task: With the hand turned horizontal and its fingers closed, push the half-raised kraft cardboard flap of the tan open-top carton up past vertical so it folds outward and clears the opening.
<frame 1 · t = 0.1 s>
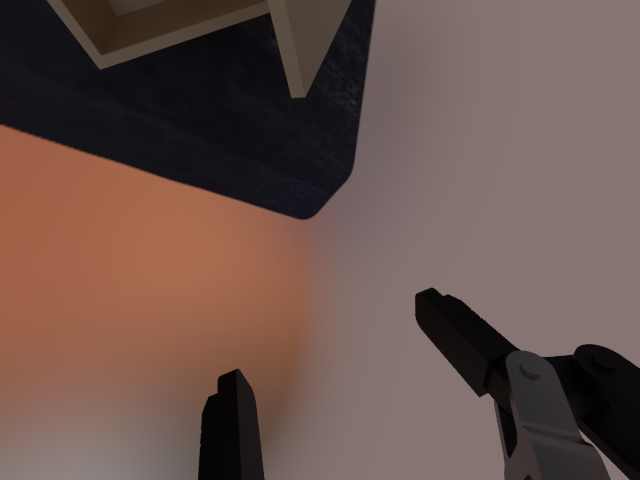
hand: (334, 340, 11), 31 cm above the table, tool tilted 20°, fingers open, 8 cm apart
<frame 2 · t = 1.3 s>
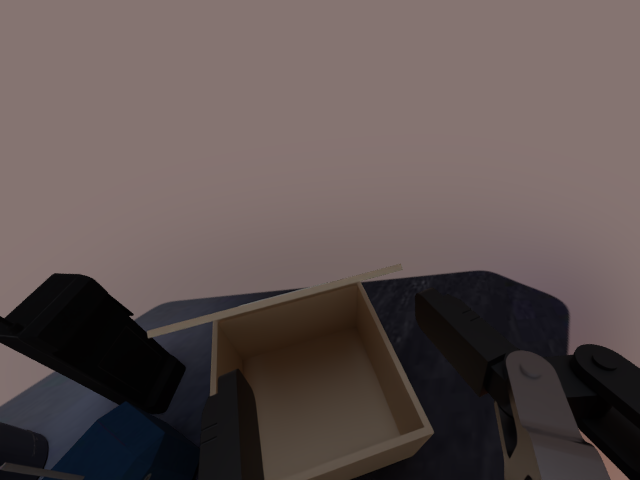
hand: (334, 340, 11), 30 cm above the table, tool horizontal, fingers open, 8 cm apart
kraft carton: (314, 401, 37), on the table
portable radio: (160, 384, 40), on the table
carton flap: (286, 296, 27), point 19 cm above the table, hinge at 53.4°
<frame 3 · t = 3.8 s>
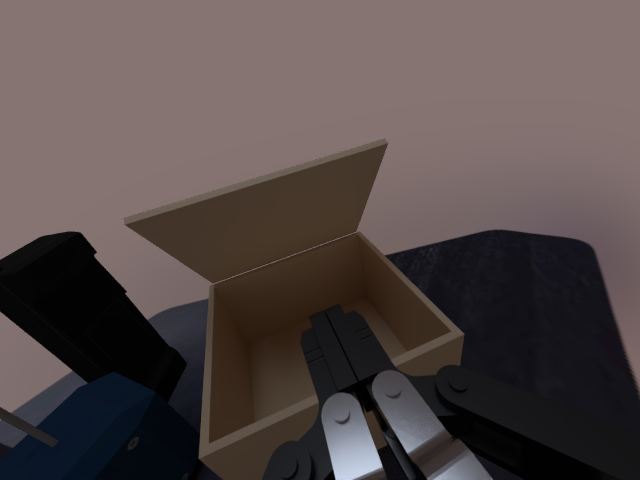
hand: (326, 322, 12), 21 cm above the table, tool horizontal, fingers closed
kraft carton: (330, 372, 32), on the table
portable radio: (159, 383, 36), on the table
carton flap: (279, 226, 26), point 19 cm above the table, hinge at 53.4°
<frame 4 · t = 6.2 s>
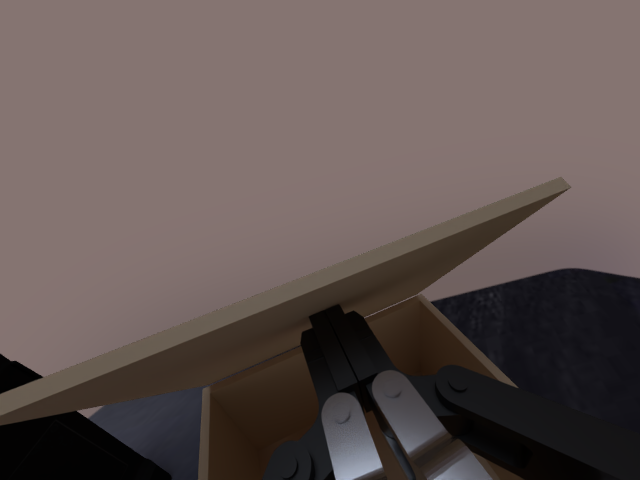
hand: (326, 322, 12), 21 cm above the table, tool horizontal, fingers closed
carton flap: (319, 317, 15), point 19 cm above the table, hinge at 55.8°, touching gripper
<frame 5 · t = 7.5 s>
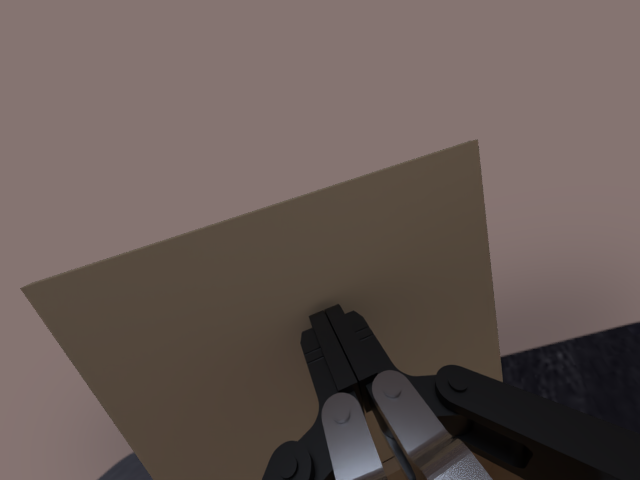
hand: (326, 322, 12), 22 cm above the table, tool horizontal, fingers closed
carton flap: (334, 354, 13), point 20 cm above the table, hinge at 104.4°, touching gripper
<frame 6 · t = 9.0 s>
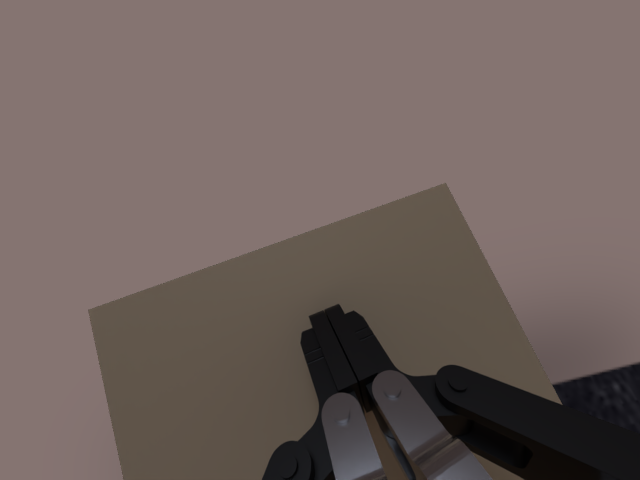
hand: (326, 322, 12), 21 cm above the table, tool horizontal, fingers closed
carton flap: (348, 397, 12), point 18 cm above the table, hinge at 133.9°, touching gripper
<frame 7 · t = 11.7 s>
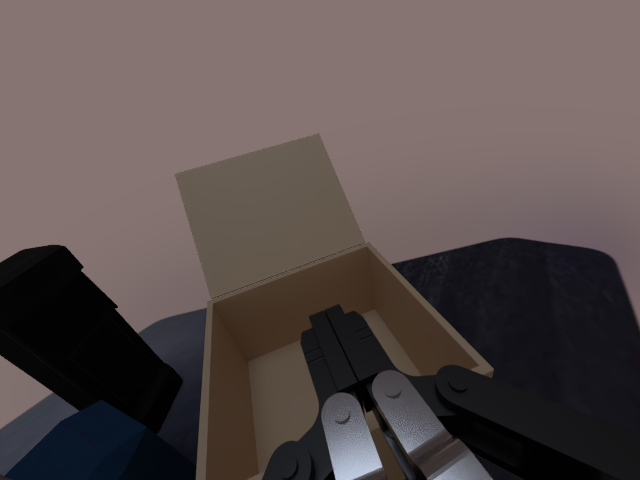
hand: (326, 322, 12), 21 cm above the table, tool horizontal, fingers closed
kraft carton: (336, 394, 30), on the table
portable radio: (153, 402, 34), on the table
carton flap: (270, 209, 33), point 18 cm above the table, hinge at 134.0°
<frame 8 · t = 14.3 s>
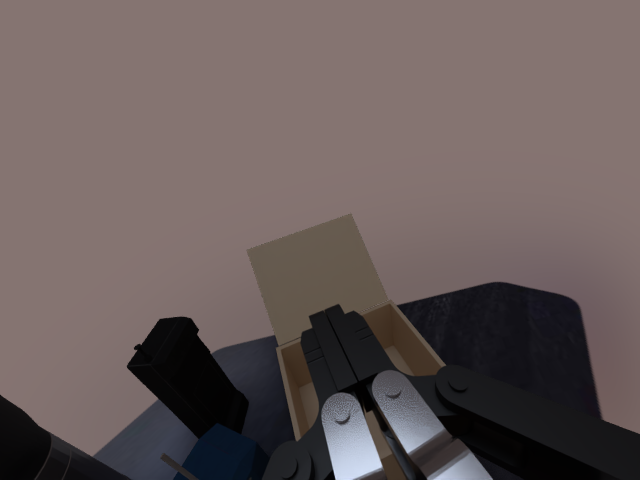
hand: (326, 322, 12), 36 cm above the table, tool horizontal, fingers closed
kraft carton: (369, 415, 41), on the table
portable radio: (228, 420, 45), on the table
carton flap: (317, 275, 44), point 18 cm above the table, hinge at 134.0°
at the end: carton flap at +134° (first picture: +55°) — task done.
